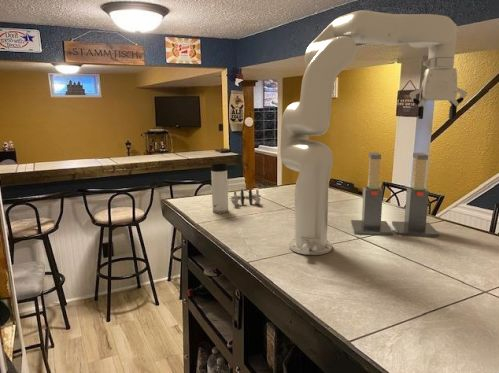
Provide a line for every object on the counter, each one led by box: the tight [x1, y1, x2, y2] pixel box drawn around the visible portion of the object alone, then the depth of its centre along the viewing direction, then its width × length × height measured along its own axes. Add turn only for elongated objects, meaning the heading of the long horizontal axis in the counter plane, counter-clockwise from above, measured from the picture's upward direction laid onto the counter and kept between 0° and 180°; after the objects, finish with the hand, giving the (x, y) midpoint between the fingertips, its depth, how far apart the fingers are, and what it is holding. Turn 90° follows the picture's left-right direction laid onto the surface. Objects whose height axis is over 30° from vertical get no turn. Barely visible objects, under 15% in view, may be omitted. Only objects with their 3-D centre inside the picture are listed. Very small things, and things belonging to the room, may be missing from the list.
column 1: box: [367, 151, 382, 190], centre depth 126 cm, size 6×3×19 cm, turn 171°
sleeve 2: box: [391, 186, 440, 238], centre depth 126 cm, size 12×12×14 cm
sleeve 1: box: [350, 186, 394, 236], centre depth 128 cm, size 12×12×14 cm
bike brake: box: [228, 188, 262, 206], centre depth 168 cm, size 14×7×20 cm
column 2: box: [411, 152, 429, 191], centre depth 124 cm, size 6×3×19 cm, turn 171°
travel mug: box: [210, 162, 229, 214], centre depth 151 cm, size 6×7×20 cm
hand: (435, 118), depth 126 cm, fingers open, 9 cm apart
